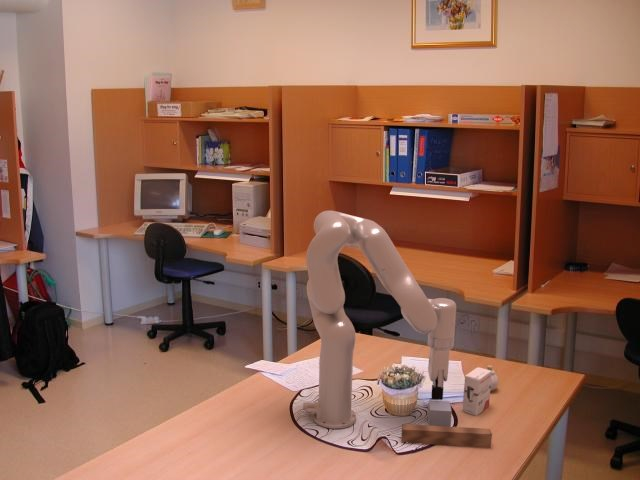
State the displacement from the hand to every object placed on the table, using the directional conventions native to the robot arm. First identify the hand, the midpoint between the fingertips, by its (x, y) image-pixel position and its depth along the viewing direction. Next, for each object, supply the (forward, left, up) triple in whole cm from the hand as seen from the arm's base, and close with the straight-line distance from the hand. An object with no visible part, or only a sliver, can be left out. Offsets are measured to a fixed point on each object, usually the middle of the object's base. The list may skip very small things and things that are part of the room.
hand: (436, 398), depth 215 cm
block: (0, -8, -4) cm, 9 cm away
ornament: (+18, +16, -4) cm, 24 cm away
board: (+1, -18, -4) cm, 19 cm away
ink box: (+12, +3, -4) cm, 13 cm away
